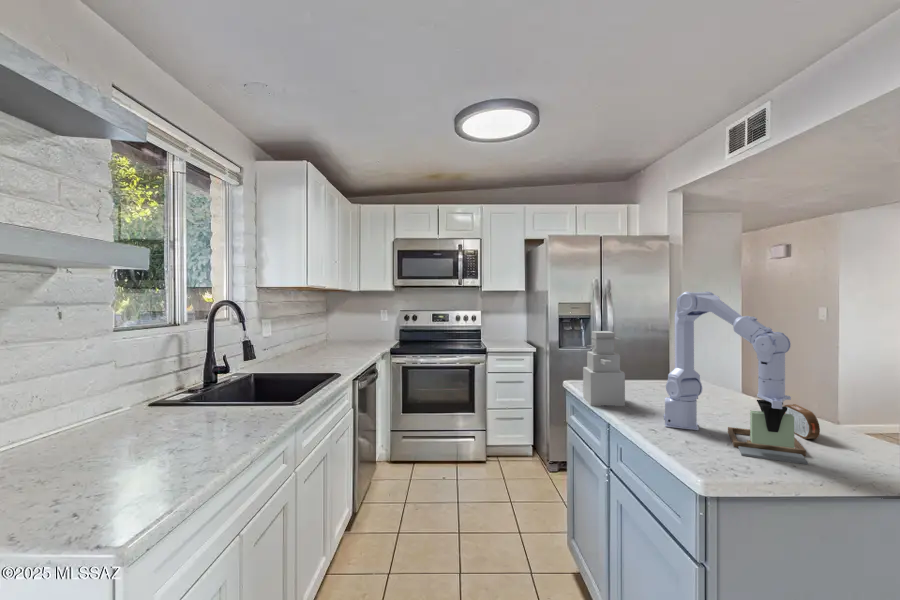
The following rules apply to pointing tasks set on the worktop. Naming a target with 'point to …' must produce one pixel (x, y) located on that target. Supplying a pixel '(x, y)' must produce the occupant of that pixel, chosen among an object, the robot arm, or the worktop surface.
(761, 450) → the slate mat
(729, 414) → the worktop surface
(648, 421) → the worktop surface
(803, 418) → the tin
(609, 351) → the stacked tiered boxes
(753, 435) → the board
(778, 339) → the robot arm
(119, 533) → the worktop surface
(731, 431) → the brown flat square frame
